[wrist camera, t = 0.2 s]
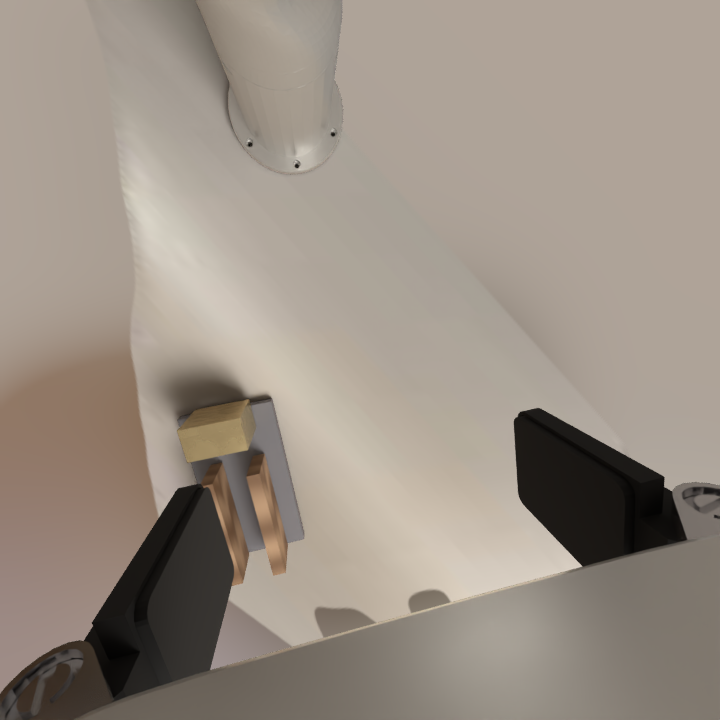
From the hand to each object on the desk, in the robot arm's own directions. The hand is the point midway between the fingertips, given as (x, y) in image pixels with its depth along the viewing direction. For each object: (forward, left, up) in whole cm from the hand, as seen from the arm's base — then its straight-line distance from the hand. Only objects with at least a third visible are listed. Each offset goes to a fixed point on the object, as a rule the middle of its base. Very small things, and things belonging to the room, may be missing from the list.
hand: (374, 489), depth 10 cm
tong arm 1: (+23, -12, -35) cm, 43 cm away
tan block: (+9, -15, -35) cm, 39 cm away
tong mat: (+19, -15, -36) cm, 44 cm away
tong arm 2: (+23, -18, -35) cm, 45 cm away
